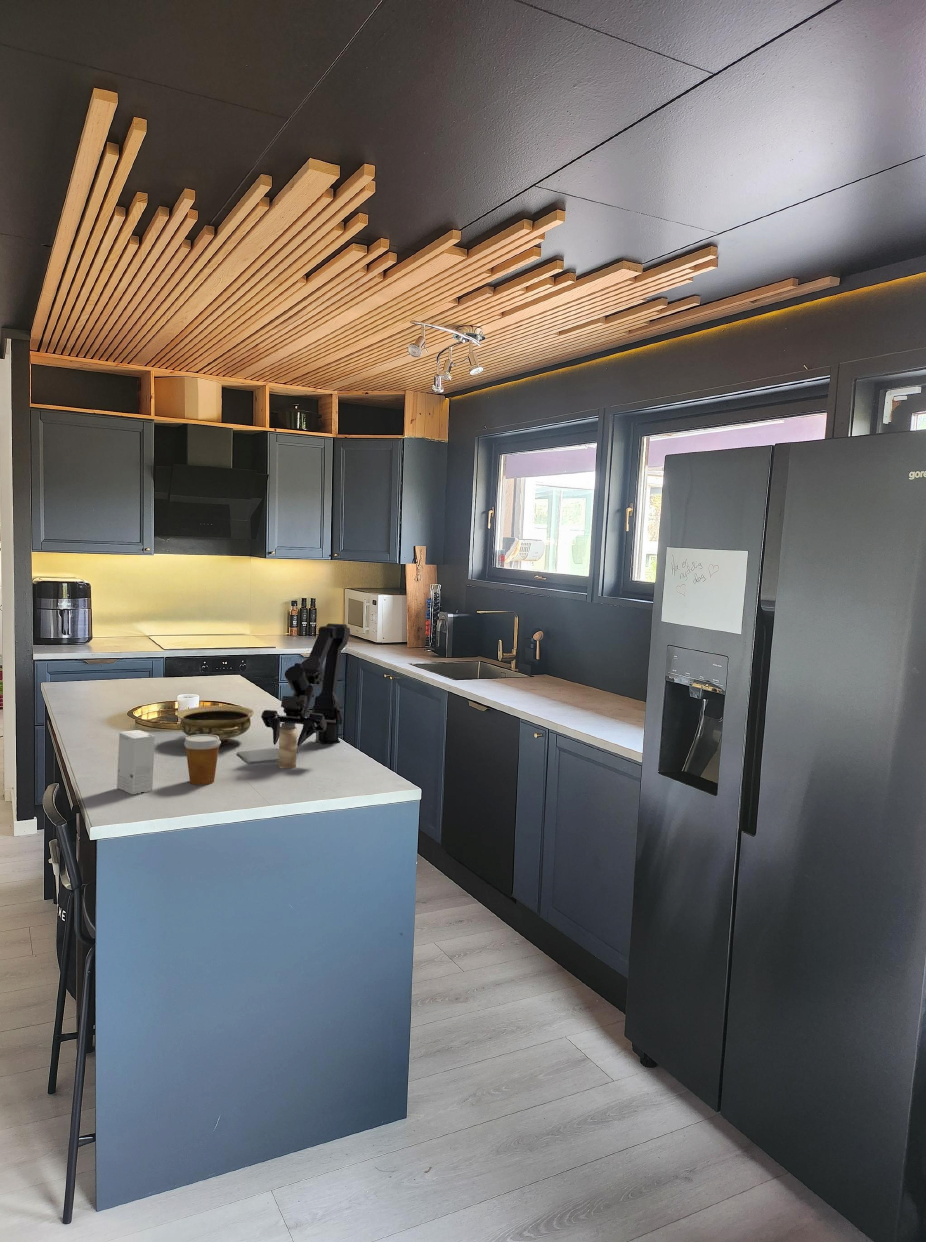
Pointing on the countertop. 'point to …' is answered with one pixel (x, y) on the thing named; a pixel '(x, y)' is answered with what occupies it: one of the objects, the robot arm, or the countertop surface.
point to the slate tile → (260, 755)
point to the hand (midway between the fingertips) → (286, 744)
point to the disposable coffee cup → (202, 757)
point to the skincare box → (135, 761)
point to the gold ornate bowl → (216, 721)
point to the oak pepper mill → (287, 745)
